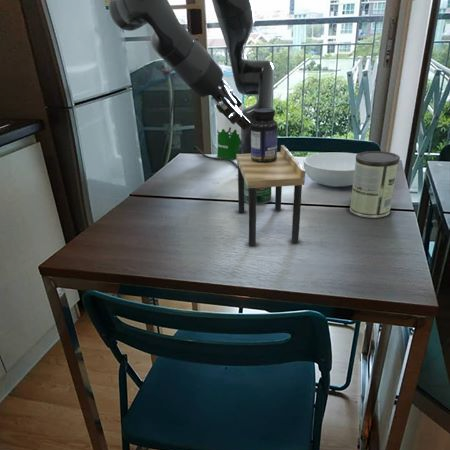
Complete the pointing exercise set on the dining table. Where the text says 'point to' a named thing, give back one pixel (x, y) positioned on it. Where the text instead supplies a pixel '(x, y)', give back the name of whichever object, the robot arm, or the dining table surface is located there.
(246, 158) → the shelf riser
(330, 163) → the serving bowl
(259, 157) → the pill bottle
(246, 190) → the canned tomato
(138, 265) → the dining table surface
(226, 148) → the milk carton
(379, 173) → the coffee can
